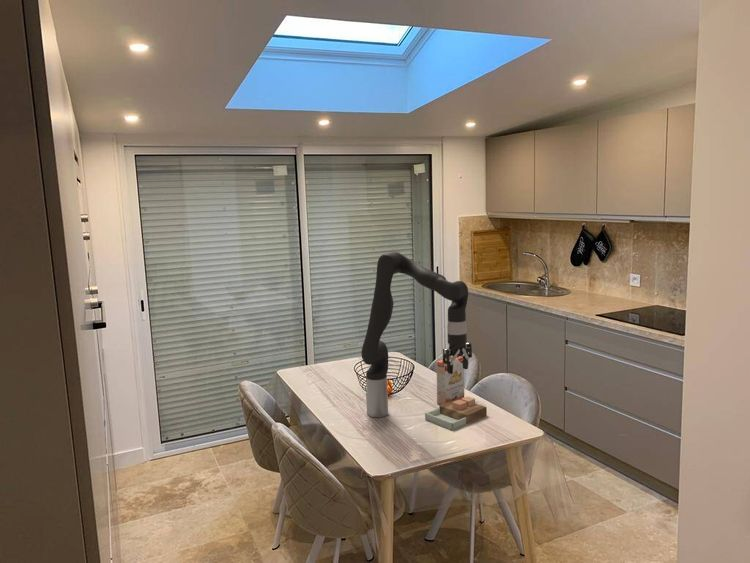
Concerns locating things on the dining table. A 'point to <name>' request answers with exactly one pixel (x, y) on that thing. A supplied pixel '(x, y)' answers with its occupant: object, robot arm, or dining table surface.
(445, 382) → the cracker box
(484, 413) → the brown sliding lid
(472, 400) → the tile
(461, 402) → the tile
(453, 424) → the tray
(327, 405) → the dining table surface
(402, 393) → the dining table surface
